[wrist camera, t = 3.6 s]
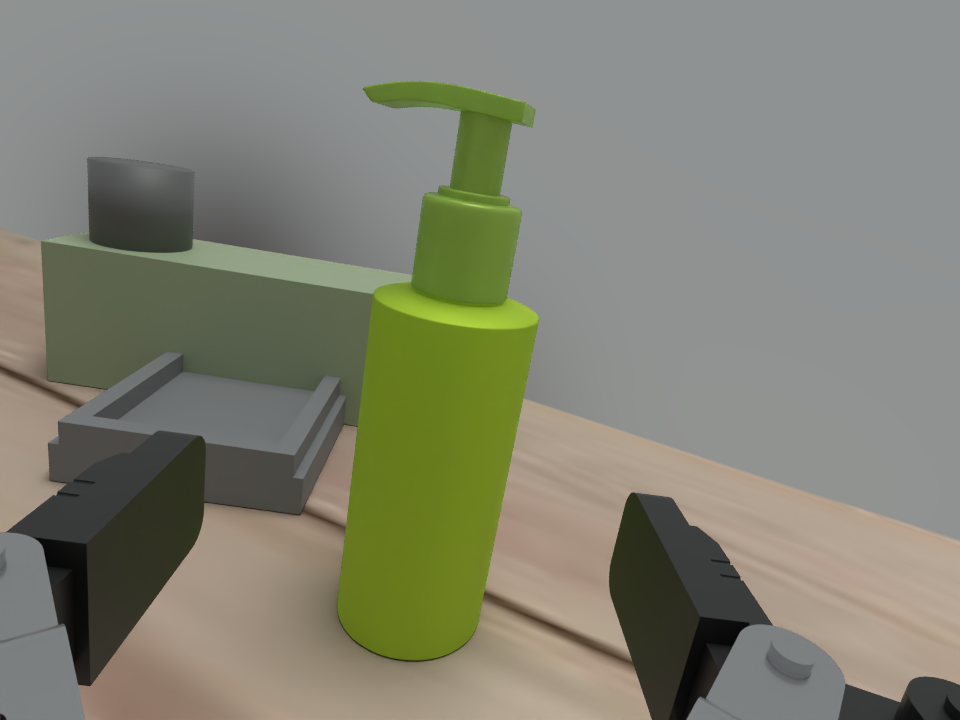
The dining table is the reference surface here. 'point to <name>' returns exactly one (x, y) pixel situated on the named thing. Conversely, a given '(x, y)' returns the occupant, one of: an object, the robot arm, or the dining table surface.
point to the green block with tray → (201, 341)
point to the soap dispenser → (439, 399)
